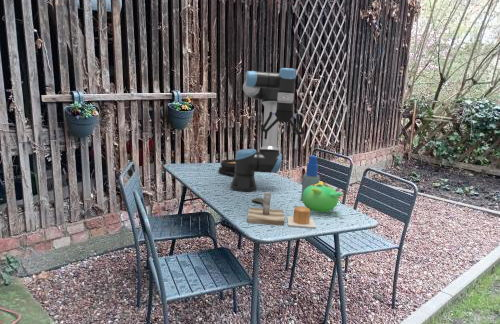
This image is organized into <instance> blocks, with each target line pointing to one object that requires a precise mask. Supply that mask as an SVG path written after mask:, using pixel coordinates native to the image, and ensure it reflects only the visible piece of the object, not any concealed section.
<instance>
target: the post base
mask: <svg viewBox="0 0 500 324" xmlns="http://www.w3.org/2000/svg"><path fill="white" fill-rule="evenodd" d="M271 196H272V193H271V192H269V191H265V192H264V193H263V199H264V202H263V203H264V204H262V205H263V206H262V208H261V207H252V206H251V207H249V209H248V215H247V223H248V224H260V225H272V226H284V225H285V218H284V212H283V209H273V208H271V200H272V199H271Z"/></svg>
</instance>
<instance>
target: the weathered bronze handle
mask: <svg viewBox="0 0 500 324" xmlns="http://www.w3.org/2000/svg"><path fill="white" fill-rule="evenodd" d="M251 201H252V202H257V203H260V204H262V205H263V204H264V198H262V197H256V198H253V199H252V200H251Z"/></svg>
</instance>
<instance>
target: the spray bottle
mask: <svg viewBox="0 0 500 324" xmlns="http://www.w3.org/2000/svg"><path fill="white" fill-rule="evenodd" d="M318 170H319V163H318V156H317V155H313V154H312V155H309V160H308V162H307V164H306V173H303V175H302V184H301V185H302V186H301V194H300V195H301V196H300V201H301V202H303V200H302V194H303V192H304V190H305V189H306V188H307V187H308V186H310V185H313V184H318V183H319V182H321V180H320V179H321V178H320V174H318V172H319V171H318Z"/></svg>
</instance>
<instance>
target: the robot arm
mask: <svg viewBox="0 0 500 324" xmlns="http://www.w3.org/2000/svg"><path fill="white" fill-rule="evenodd" d="M296 79H297V71H296V69H295V68H291V67H290V68H289V67H281V68H280V69H279V72H267V71H255V70H248V71H246V73H245V81H244V82H243V85H242V91H243V93H244V94H245V95H246V96H247V97H248V98H251V99H253V100H259V101H261V104H262V105H263V107H264V111H263V125H262V127H261V129H260V130H261V132H262V144H261V147H260V148H259V150H258V151H257V149H255V148H244V149H239V150H237V151H236V154H235V158H234V160H236V162H235V175H233V178H232V180H231V182H230V189H231V190H233V191H235V192H244V193H246V192H248V193H249V192H254V191H256V190H257V183H256V178H255V174H256V173H269V174H271V173H273V174H274V173H278V172H279V171H280V170H281V169H280V168H281V165H282V161H283V154H282V153H281V152H280V149H279V147H278V133H279V132H278V131H279V122H280V123H289V124H290V125H291V127H292V128H293V130H294V131H295V133H296V134H295V139H294V149H295V150H296V149H297V148H298V142H300V141H301V140H300V139H301V135H304V134H305V131H304V128H303V125H302V123H301V120H300V115H299V113H293V108H294V104H293V102H294V101H295V99H294V98H295V94H294V93H295V87H296V86H295V85H296ZM293 117H294V119H295V120H296V123H297V125H298V127H299V129H298V128H297V126H296V125H295V124H294V122H293V120H292V118H293ZM299 130H300V131H299Z"/></svg>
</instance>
